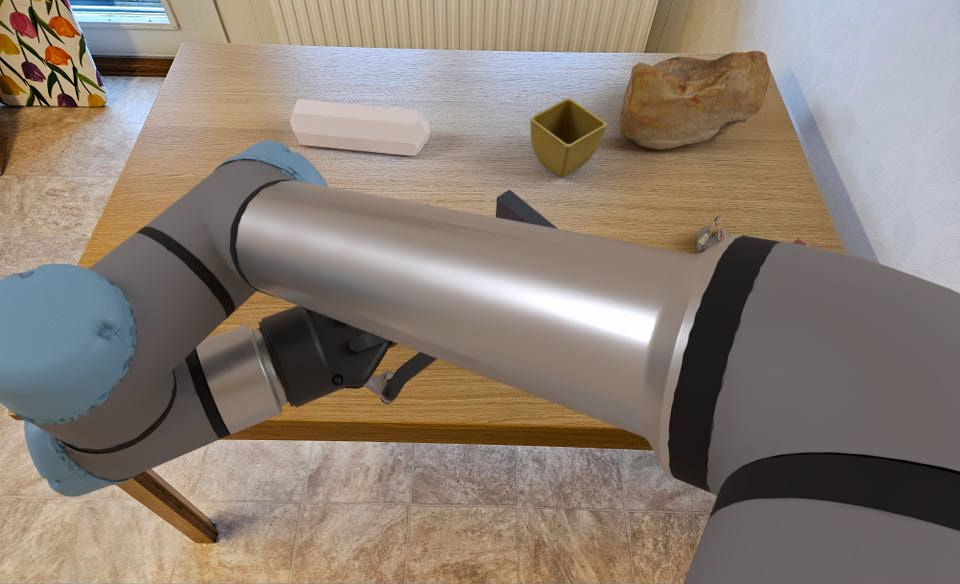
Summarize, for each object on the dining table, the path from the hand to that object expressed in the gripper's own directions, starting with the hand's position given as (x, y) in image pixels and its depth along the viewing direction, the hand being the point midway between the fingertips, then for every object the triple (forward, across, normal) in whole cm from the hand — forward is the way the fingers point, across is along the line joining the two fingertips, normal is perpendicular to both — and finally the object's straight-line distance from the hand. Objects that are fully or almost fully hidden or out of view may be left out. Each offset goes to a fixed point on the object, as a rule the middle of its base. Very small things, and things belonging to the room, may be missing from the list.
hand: (524, 268), depth 55 cm
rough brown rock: (+55, -22, -30) cm, 66 cm away
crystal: (+4, -41, -42) cm, 58 cm away
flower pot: (+31, -22, -32) cm, 49 cm away
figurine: (+40, +2, -22) cm, 46 cm away
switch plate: (+11, +2, -25) cm, 27 cm away
